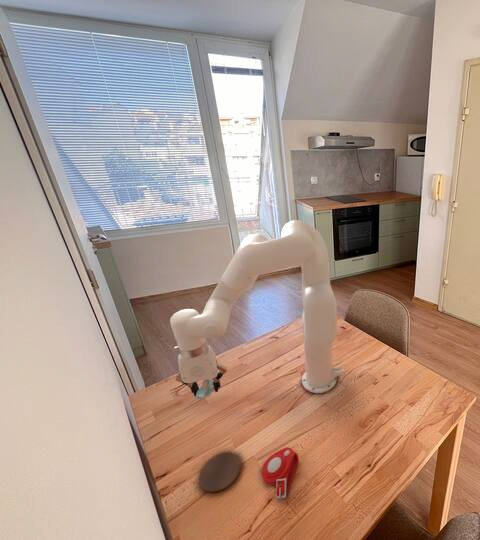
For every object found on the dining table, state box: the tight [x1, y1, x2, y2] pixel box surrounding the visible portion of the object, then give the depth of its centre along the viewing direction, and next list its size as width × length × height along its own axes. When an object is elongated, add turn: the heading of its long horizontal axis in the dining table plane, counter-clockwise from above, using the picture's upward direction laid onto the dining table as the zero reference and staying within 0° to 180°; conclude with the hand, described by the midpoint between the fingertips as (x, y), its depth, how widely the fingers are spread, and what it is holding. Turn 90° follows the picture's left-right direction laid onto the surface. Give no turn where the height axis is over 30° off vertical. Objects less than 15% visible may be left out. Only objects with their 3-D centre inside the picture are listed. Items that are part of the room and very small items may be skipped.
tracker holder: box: [261, 446, 300, 499], centre depth 77 cm, size 12×4×10 cm
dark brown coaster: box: [198, 451, 242, 494], centre depth 78 cm, size 10×10×1 cm
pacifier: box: [193, 379, 215, 400], centre depth 96 cm, size 7×6×6 cm
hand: (207, 390), depth 97 cm, fingers closed on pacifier, 5 cm apart
